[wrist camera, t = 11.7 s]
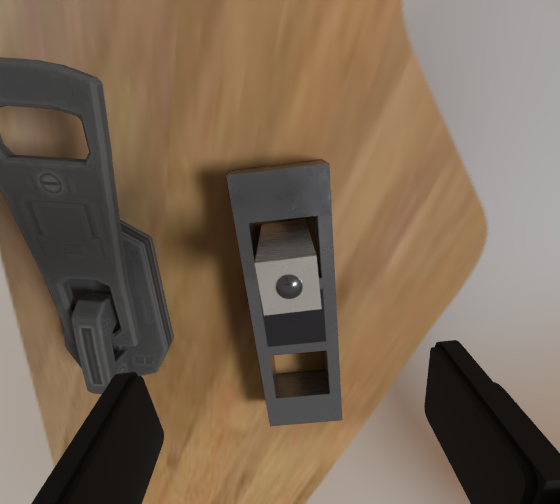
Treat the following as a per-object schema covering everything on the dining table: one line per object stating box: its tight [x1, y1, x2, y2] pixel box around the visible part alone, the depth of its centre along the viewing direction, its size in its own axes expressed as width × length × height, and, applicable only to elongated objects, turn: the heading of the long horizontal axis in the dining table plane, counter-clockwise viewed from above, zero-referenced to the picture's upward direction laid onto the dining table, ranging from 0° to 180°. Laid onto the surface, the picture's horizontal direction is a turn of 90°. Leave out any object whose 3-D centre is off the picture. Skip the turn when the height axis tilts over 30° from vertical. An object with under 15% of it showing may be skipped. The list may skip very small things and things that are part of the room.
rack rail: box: [226, 160, 342, 426], centre depth 26 cm, size 24×7×3 cm, turn 6°
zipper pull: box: [0, 57, 174, 394], centre depth 23 cm, size 9×7×25 cm
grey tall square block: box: [255, 219, 322, 316], centre depth 22 cm, size 4×4×8 cm
